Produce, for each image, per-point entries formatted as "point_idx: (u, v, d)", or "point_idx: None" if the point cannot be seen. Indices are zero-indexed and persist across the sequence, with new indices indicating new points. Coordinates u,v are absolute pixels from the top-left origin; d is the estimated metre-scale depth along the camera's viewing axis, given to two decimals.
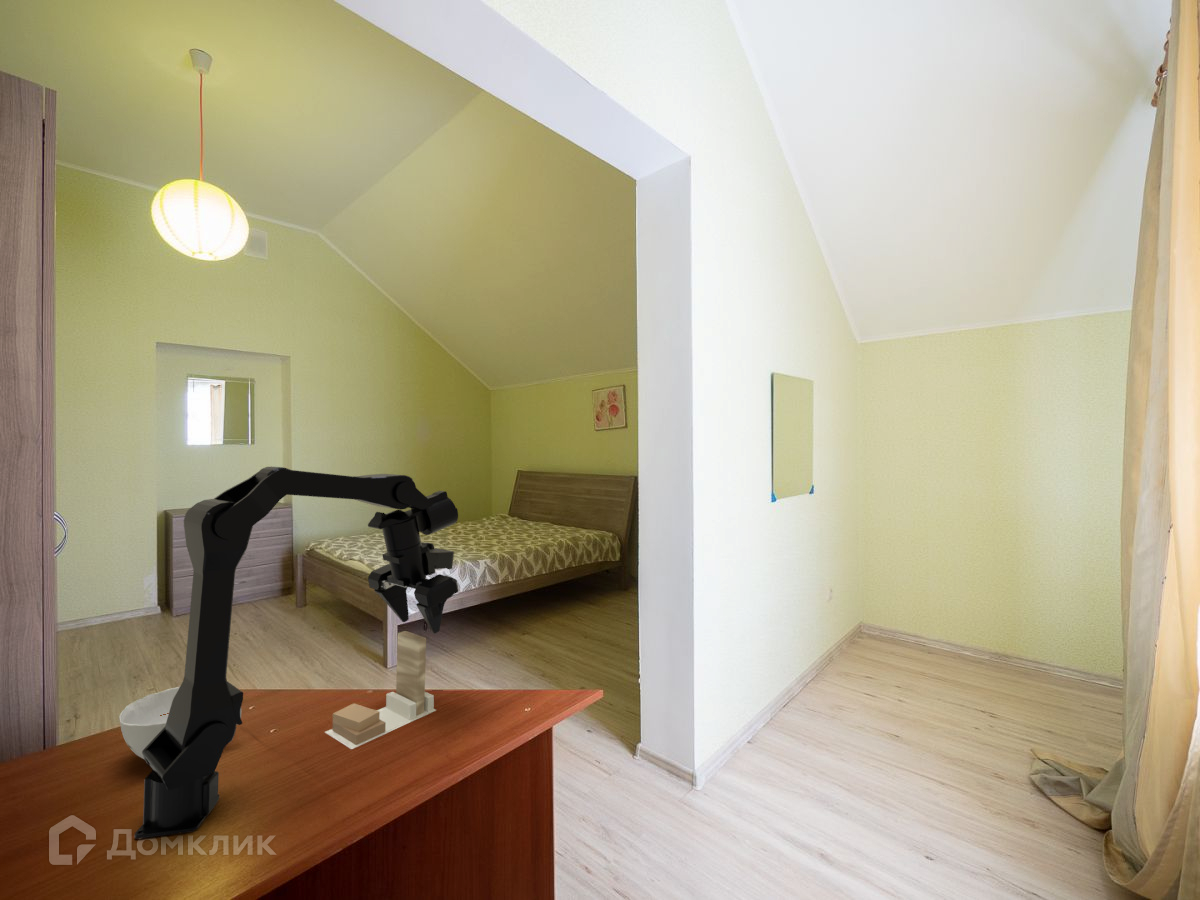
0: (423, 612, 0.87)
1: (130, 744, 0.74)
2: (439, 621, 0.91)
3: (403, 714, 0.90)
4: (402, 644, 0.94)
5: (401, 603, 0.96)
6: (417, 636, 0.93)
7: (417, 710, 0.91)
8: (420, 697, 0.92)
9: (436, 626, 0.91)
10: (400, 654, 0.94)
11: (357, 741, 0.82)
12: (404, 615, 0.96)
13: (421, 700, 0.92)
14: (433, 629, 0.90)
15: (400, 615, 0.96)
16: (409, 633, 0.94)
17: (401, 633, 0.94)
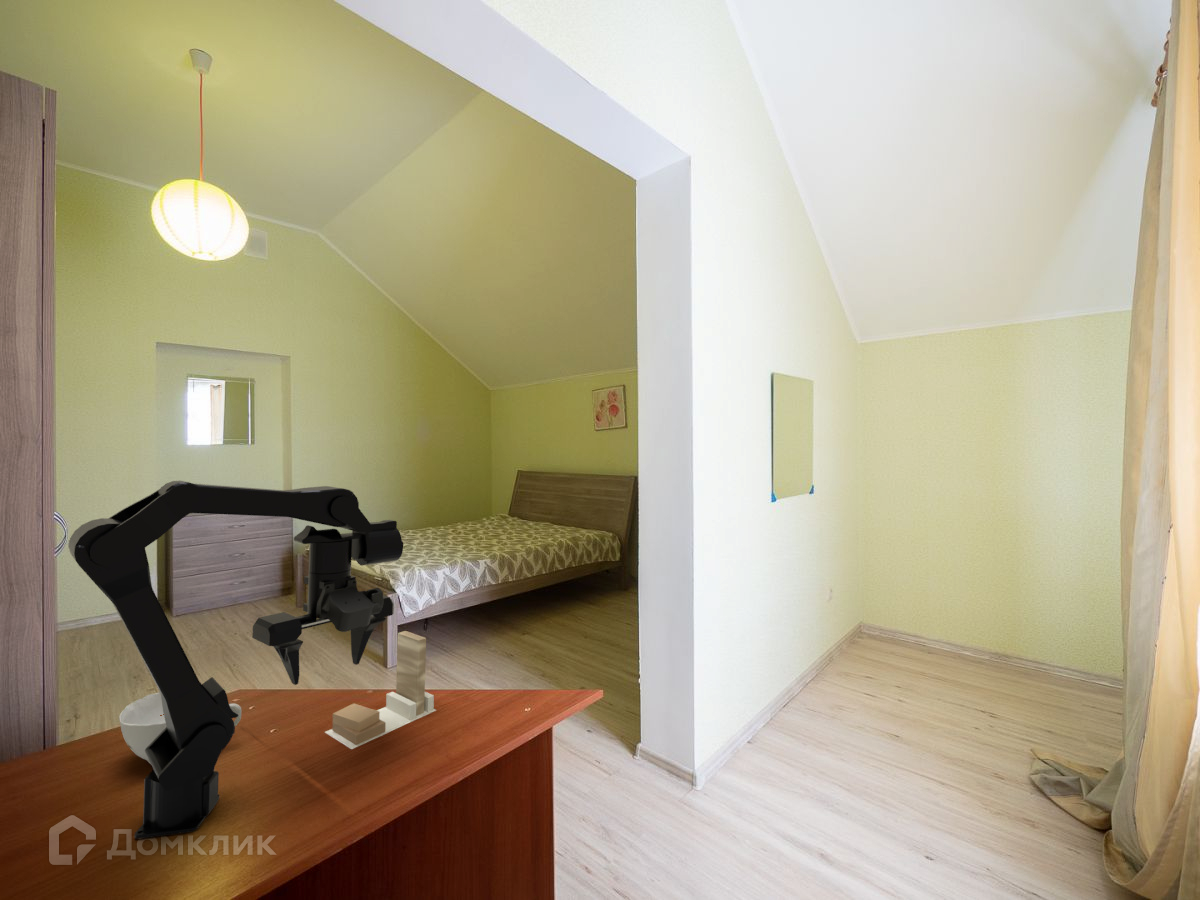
0: None
1: (130, 744, 0.74)
2: (291, 672, 0.75)
3: (403, 714, 0.90)
4: (402, 644, 0.94)
5: (357, 641, 0.83)
6: (417, 636, 0.93)
7: (417, 710, 0.91)
8: (420, 697, 0.92)
9: (290, 675, 0.75)
10: (400, 654, 0.94)
11: (357, 741, 0.82)
12: (354, 656, 0.83)
13: (421, 700, 0.92)
14: (289, 676, 0.76)
15: (352, 652, 0.83)
16: (409, 633, 0.94)
17: (401, 633, 0.94)
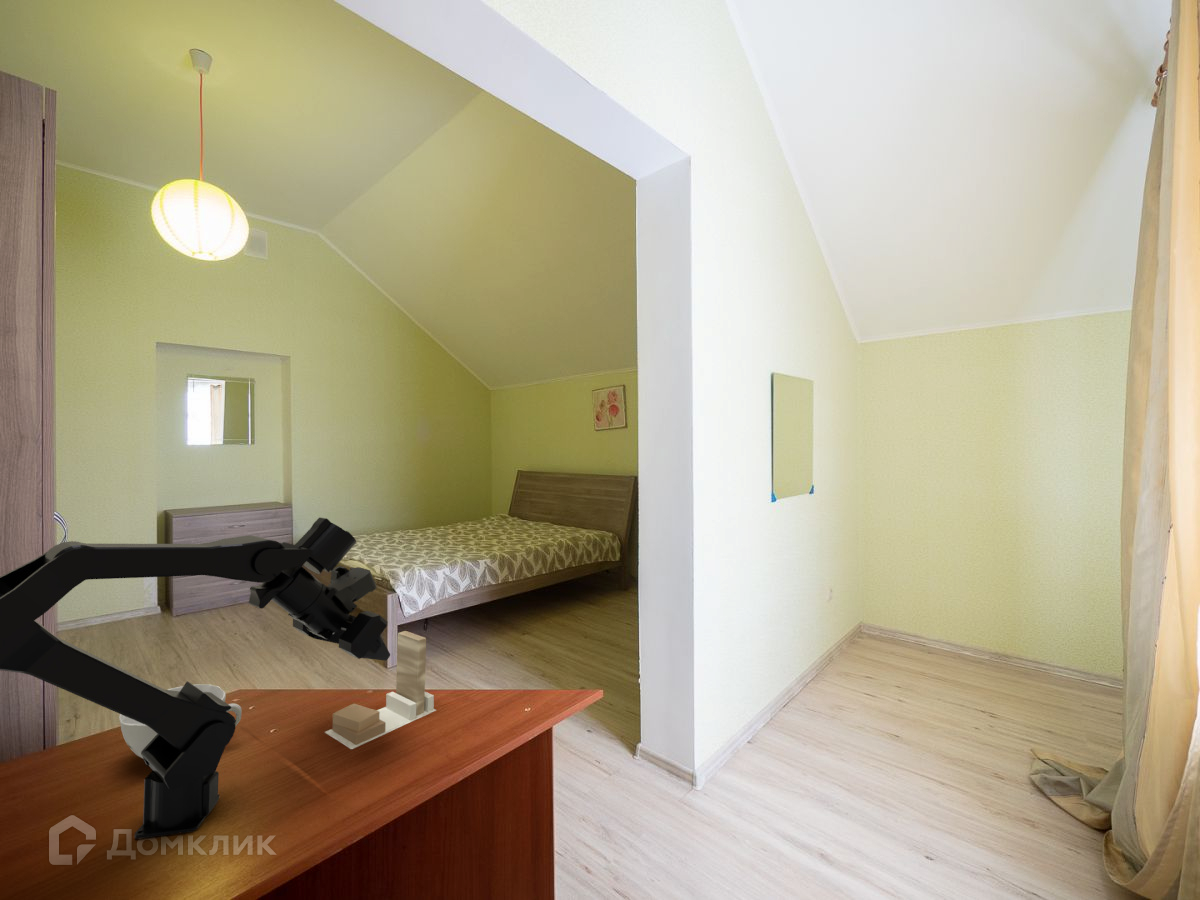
0: None
1: (130, 744, 0.74)
2: (385, 649, 0.83)
3: (403, 714, 0.90)
4: (402, 644, 0.94)
5: (343, 633, 0.88)
6: (417, 636, 0.93)
7: (417, 710, 0.91)
8: (420, 697, 0.92)
9: (384, 655, 0.83)
10: (400, 654, 0.94)
11: (357, 741, 0.82)
12: None
13: (421, 700, 0.92)
14: (382, 659, 0.83)
15: None
16: (409, 633, 0.94)
17: (401, 633, 0.94)
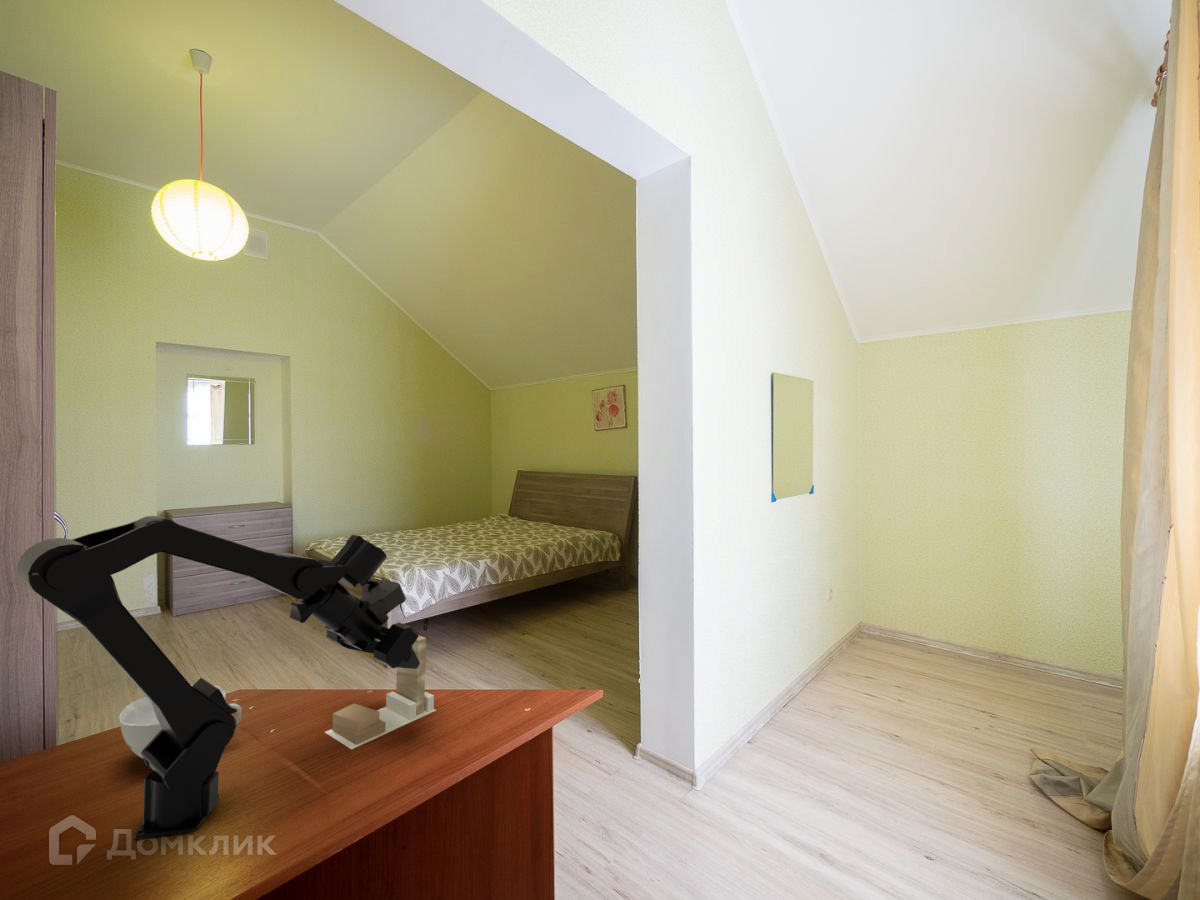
0: None
1: (130, 744, 0.74)
2: (415, 658, 0.88)
3: (403, 714, 0.90)
4: None
5: (373, 642, 0.93)
6: None
7: (417, 710, 0.91)
8: (420, 697, 0.92)
9: (414, 663, 0.88)
10: None
11: (357, 741, 0.82)
12: None
13: (421, 700, 0.92)
14: (413, 667, 0.88)
15: None
16: None
17: None
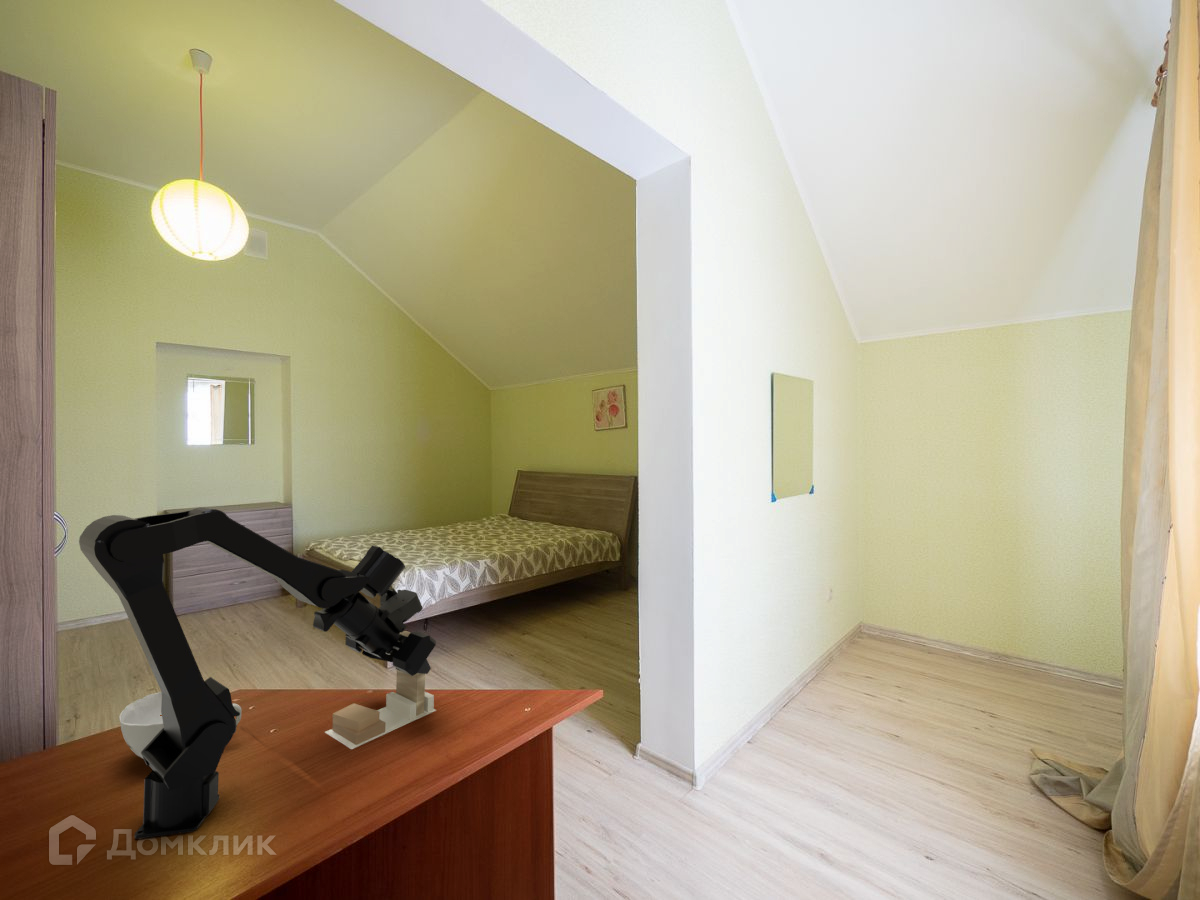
0: None
1: (130, 744, 0.74)
2: (426, 663, 0.91)
3: (403, 714, 0.90)
4: None
5: (395, 652, 0.94)
6: None
7: (417, 710, 0.91)
8: (420, 697, 0.92)
9: (425, 668, 0.92)
10: None
11: (357, 741, 0.82)
12: None
13: (421, 700, 0.92)
14: (424, 672, 0.91)
15: None
16: (409, 633, 0.94)
17: (401, 633, 0.94)
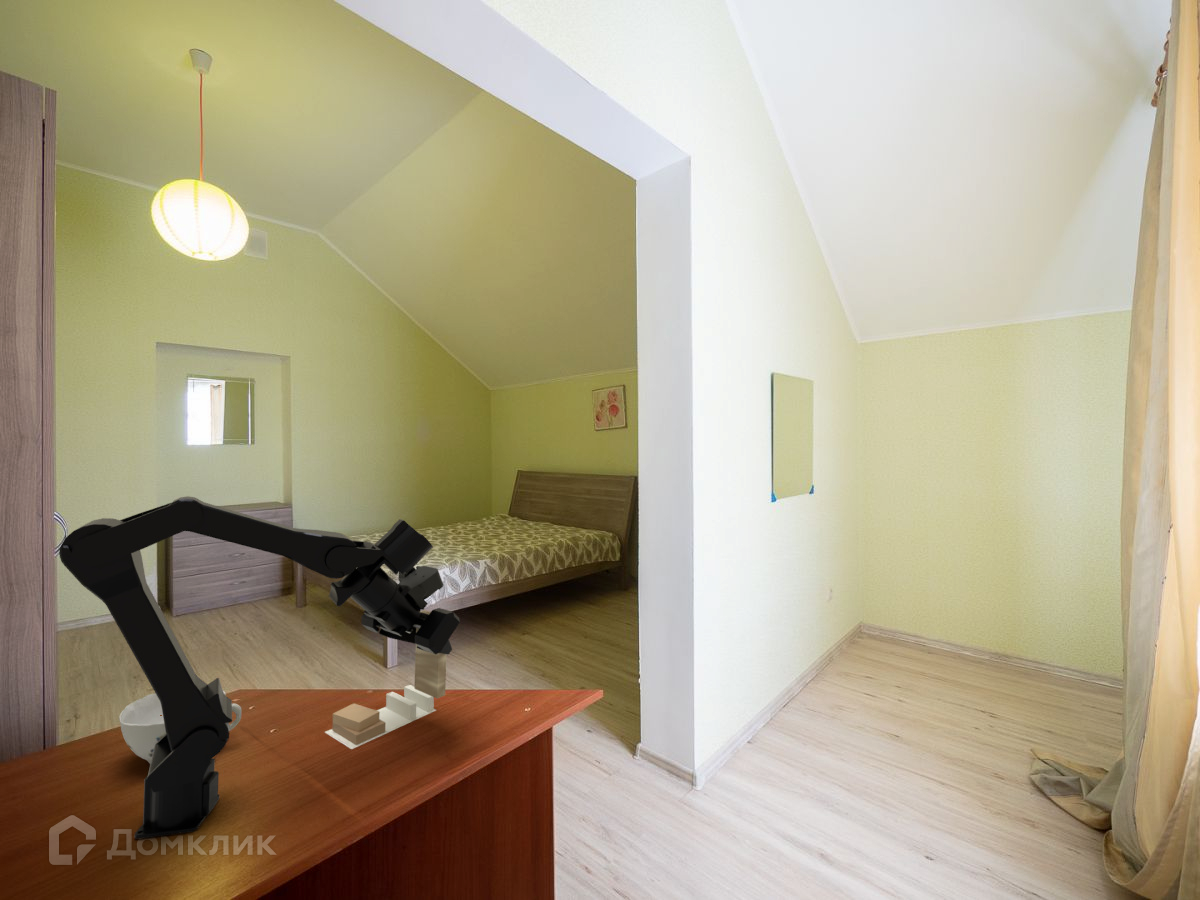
0: None
1: (130, 744, 0.74)
2: (448, 643, 0.86)
3: (403, 714, 0.90)
4: None
5: (413, 632, 0.89)
6: None
7: (438, 693, 0.86)
8: (441, 679, 0.87)
9: (447, 649, 0.86)
10: None
11: (357, 741, 0.82)
12: None
13: (442, 682, 0.87)
14: (445, 653, 0.86)
15: None
16: (429, 612, 0.89)
17: None
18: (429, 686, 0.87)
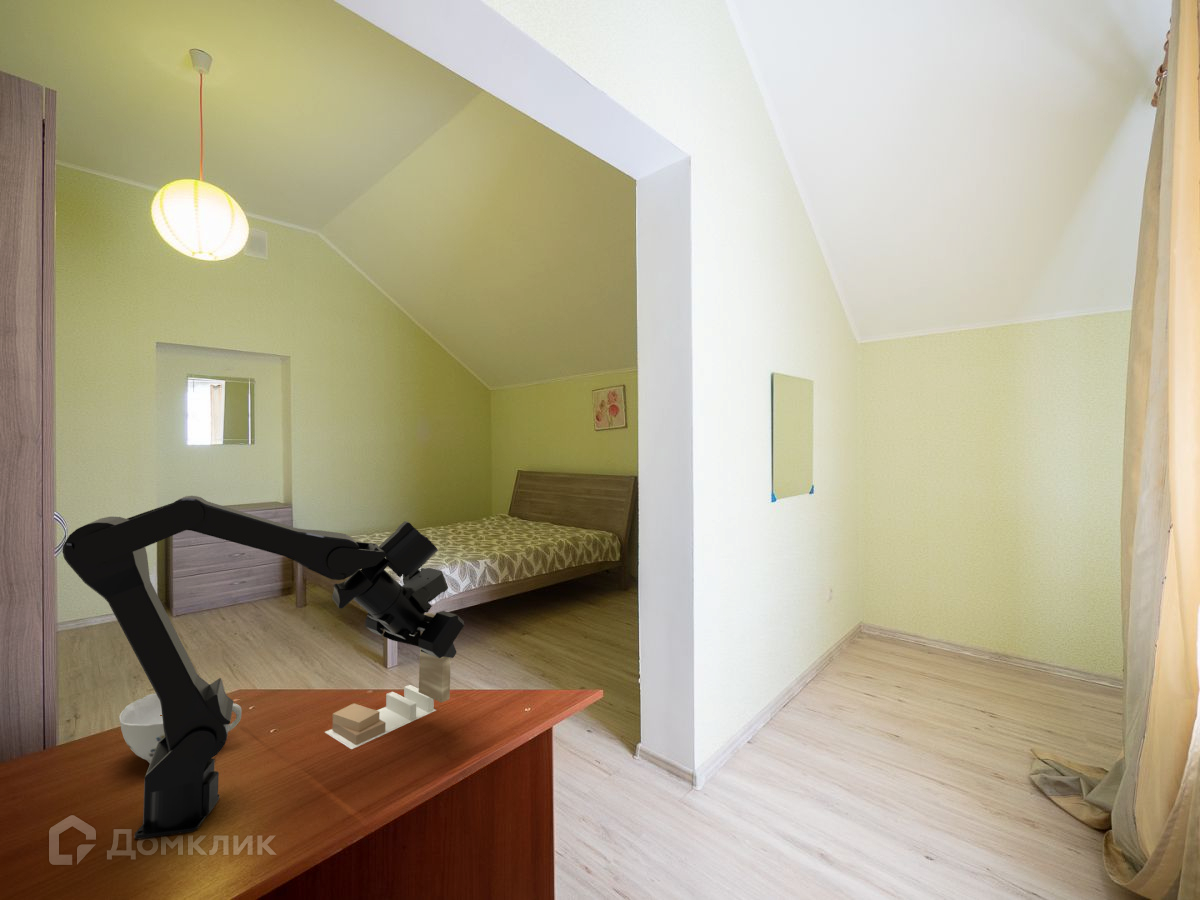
0: None
1: (130, 744, 0.74)
2: (452, 647, 0.85)
3: (403, 714, 0.90)
4: None
5: (418, 634, 0.88)
6: None
7: (442, 697, 0.85)
8: (445, 683, 0.85)
9: (451, 652, 0.85)
10: None
11: (357, 741, 0.82)
12: None
13: (446, 686, 0.85)
14: (450, 656, 0.85)
15: None
16: (433, 615, 0.88)
17: None
18: (433, 690, 0.86)
